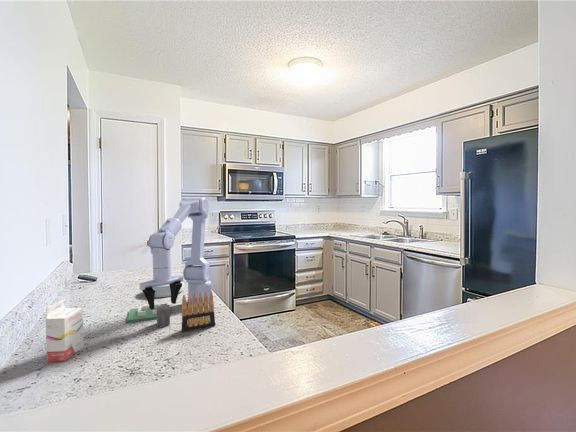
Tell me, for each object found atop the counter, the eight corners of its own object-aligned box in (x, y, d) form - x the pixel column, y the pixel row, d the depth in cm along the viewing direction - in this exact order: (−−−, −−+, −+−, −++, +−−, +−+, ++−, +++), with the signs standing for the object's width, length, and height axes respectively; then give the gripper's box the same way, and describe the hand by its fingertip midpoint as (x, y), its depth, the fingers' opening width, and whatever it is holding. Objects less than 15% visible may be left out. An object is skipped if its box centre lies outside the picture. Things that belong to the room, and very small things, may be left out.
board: (169, 306, 123) (169, 300, 123) (169, 317, 112) (169, 310, 112) (130, 311, 118) (130, 305, 118) (126, 323, 107) (126, 316, 106)
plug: (169, 321, 108) (169, 304, 108) (169, 326, 103) (169, 309, 103) (157, 322, 107) (157, 306, 106) (157, 328, 102) (156, 310, 102)
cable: (173, 285, 155) (172, 273, 155) (191, 292, 144) (191, 279, 144) (138, 293, 142) (137, 280, 142) (155, 301, 131) (154, 287, 130)
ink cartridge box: (66, 361, 81) (63, 307, 80) (46, 362, 81) (43, 308, 80) (84, 346, 90) (82, 297, 89) (67, 347, 89) (64, 297, 88)
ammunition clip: (182, 332, 99) (181, 295, 98) (181, 329, 101) (180, 294, 100) (215, 326, 103) (214, 291, 103) (214, 324, 105) (213, 289, 105)
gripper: (176, 262, 113) (177, 298, 113) (135, 268, 102) (136, 308, 102) (185, 264, 108) (186, 302, 108) (143, 271, 97) (145, 313, 98)
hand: (162, 306), depth 105 cm, fingers open, 7 cm apart
